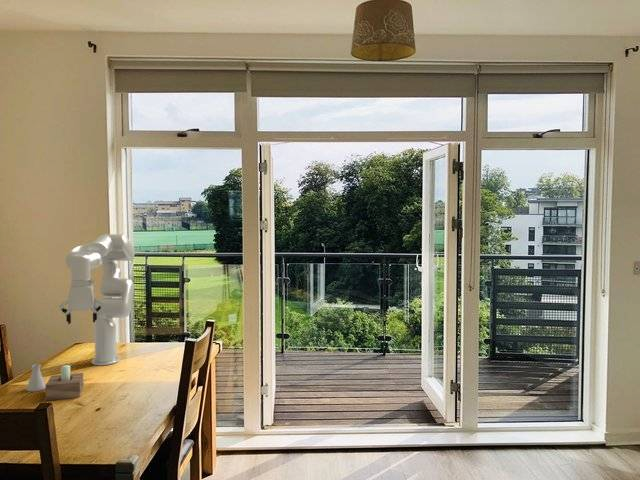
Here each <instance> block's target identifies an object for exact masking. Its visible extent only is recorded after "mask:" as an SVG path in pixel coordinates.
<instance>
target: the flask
mask: <svg viewBox="0 0 640 480" xmlns="http://www.w3.org/2000/svg"><path fill="white" fill-rule="evenodd" d="M41 366H42V364H38V363H37V364H33V365H31V366H30V367H31V368H32V369H31V375H30V378H29V380H28V383H27V385H26V388H25V391H27V392H34V393H35V392H39V391H44V390H46V384H47V383H46V382H45V380H44V378H43V375H42V373H41Z"/></svg>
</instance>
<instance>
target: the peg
mask: <svg viewBox="0 0 640 480" xmlns="http://www.w3.org/2000/svg"><path fill="white" fill-rule="evenodd" d="M70 374H71V365H68V364H67V365H66V364H64V365H61V366H60V375H61V381H68V380H70Z"/></svg>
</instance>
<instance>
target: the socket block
mask: <svg viewBox="0 0 640 480" xmlns="http://www.w3.org/2000/svg"><path fill="white" fill-rule="evenodd" d="M45 384H46V388H45V401H52V400H61V399H62V400H63V399H73V398H80V397H81V394H82V392H83V389H84V372H79V373H70V380H68V381H61V374H53V375H50V377H49V379H48V380H47V382H46V383H45Z"/></svg>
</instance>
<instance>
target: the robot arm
mask: <svg viewBox="0 0 640 480" xmlns="http://www.w3.org/2000/svg"><path fill="white" fill-rule="evenodd" d="M135 255H136V249H135V248H134V245H133V243H132V242H131V241H130V239H129V238H128V237H127V235H124V234H122V233H121V234H117V233H116V234H114V233H113V234H110V233H108V234H107V233H105V234H101V235H100V236H99V237H97V238H96V239H95V240H94V241H92V242H89V243H86V244H81V245H79V246H75V247H73V248H72V249H70V251H68V253H67V254H66V257H65V265H66V266H67V268H69V269H70V283H71V285H70V286H69V288H68V294H67V295H68V296H67V297H68V298H67V300H65V301H63V302H61V303H59V304H58V307H59V309H60V310H61V311H62V313H64V315H66V317H65V318H66V322H67V324H68V325H70V324H71V323H72V314H71V312H72V311H83V310H84V311H86V310H87V311H88V310H91V312H92V322H93V323H94V358H93V359H91V364H92V365H93V366H110V365H114V364H117V363H118V362H120V357H118V356H117V337H116V336H117V334H116V333H117V328H116V326H117V325H116V323H115V321H114V320H113V318H115V319H116V318H119V319H120V318H121V319H122V318H127V317H129V316H130V314H131V312H132V311H131V309H132V305H133V298H134V292H135V286H134V285H135V284H134V281H133V280H132V279H130V278H121V275H122V270H121V267H120V266H119V265H118V264H117V263H116V262H120V261H121V262H129V261H132V260H133V259H134V257H135ZM100 266H102V275H101V276H102V277H101V281H100V286H99V294H100V295H101V297H103V298H95V289H94V285H93V284H95V279H91V278H92V277H91V270H95V269H98V268H99V267H100ZM65 305H67V308H68V309H67V308H65Z"/></svg>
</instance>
